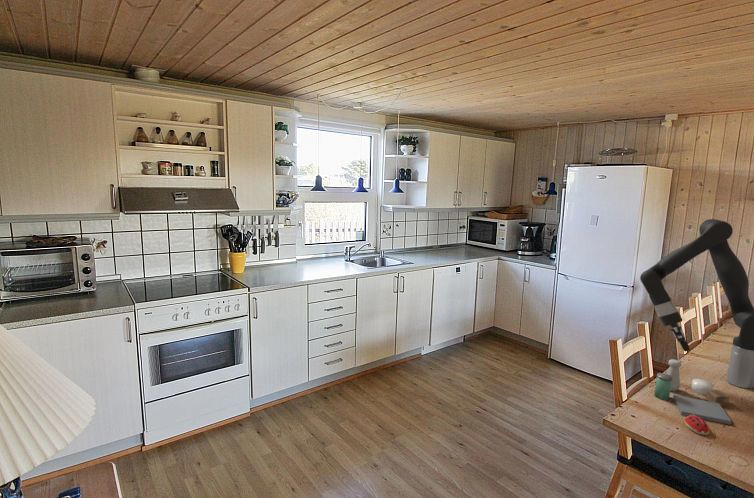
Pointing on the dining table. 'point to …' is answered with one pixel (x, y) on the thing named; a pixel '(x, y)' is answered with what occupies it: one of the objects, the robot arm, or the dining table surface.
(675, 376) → the salt shaker
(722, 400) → the brown wooden block
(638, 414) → the dining table surface
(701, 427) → the ladybug figurine
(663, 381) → the dark green jar
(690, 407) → the cutting board
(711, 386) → the white dome
